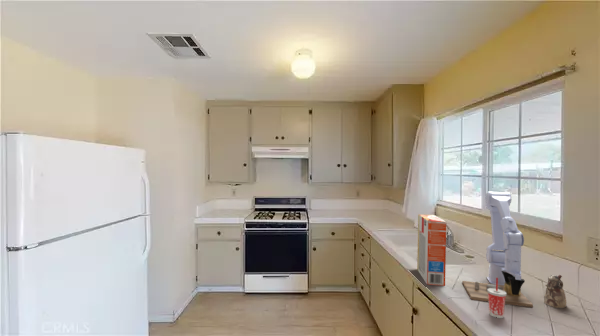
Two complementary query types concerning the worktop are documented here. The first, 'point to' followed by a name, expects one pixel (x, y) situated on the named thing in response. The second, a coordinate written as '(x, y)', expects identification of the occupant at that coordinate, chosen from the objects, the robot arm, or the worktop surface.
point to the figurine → (555, 292)
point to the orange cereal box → (431, 249)
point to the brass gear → (509, 289)
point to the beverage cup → (496, 301)
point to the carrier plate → (480, 293)
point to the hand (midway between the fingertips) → (512, 291)
